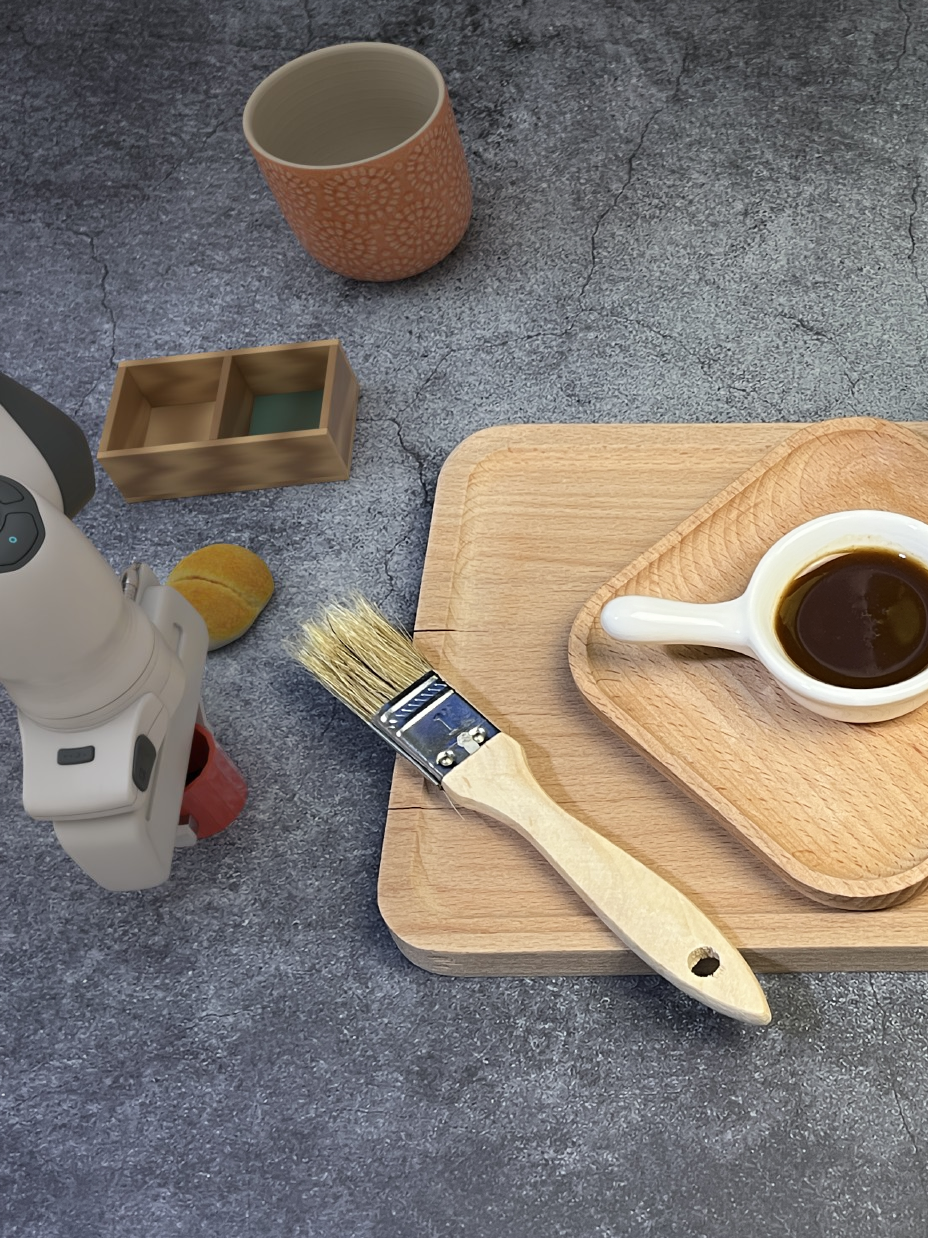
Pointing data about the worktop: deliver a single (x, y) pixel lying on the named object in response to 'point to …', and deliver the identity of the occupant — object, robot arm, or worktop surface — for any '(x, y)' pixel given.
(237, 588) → the bread roll
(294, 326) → the worktop surface
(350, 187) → the planter
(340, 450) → the caddy
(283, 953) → the worktop surface
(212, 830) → the cup
